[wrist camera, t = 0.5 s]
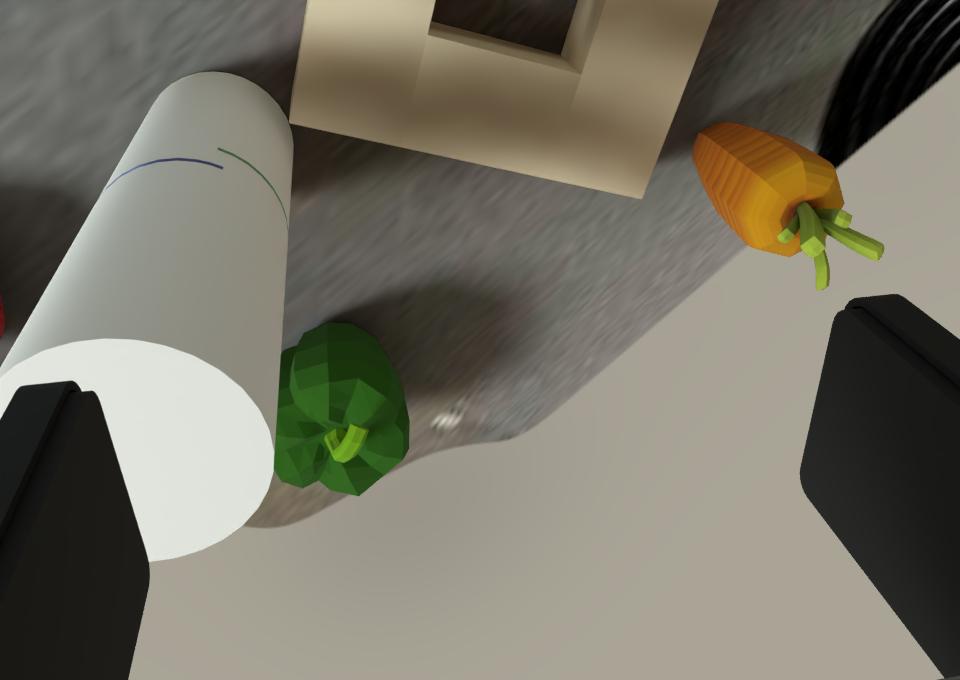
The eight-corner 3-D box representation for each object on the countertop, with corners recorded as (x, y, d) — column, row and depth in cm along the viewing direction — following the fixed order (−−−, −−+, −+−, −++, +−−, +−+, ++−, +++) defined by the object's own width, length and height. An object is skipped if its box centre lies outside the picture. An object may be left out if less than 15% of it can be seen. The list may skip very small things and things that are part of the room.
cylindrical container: (149, 57, 39) (-38, 319, 18) (302, 88, 41) (291, 358, 20) (142, 197, 43) (-24, 555, 22) (284, 220, 45) (258, 568, 24)
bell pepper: (332, 441, 53) (335, 558, 44) (232, 364, 49) (216, 476, 40) (432, 362, 51) (456, 468, 43) (338, 275, 47) (344, 373, 39)
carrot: (762, 128, 47) (928, 239, 34) (698, 195, 48) (834, 326, 35) (706, 71, 44) (861, 168, 32) (640, 144, 46) (764, 264, 33)
